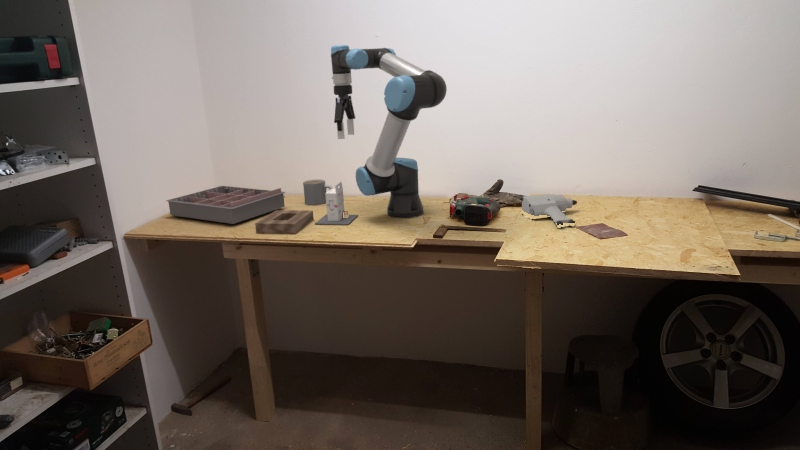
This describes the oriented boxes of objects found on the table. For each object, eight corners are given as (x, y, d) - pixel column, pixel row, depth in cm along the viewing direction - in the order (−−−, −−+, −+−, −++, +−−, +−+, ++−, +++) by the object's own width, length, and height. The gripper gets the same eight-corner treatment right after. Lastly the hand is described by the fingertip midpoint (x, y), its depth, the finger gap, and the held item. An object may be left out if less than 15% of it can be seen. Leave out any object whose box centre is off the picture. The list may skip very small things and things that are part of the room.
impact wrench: (607, 217, 216) (572, 188, 237) (551, 224, 210) (520, 194, 231) (603, 236, 220) (568, 206, 241) (548, 243, 214) (518, 212, 235)
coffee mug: (301, 204, 268) (298, 183, 265) (312, 199, 277) (310, 179, 274) (326, 206, 263) (325, 184, 260) (337, 201, 272) (335, 179, 269)
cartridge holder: (313, 220, 241) (312, 210, 240) (295, 234, 222) (294, 223, 221) (277, 219, 244) (276, 210, 243) (256, 233, 225) (255, 223, 224)
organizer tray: (224, 201, 282) (221, 181, 279) (287, 209, 262) (285, 187, 259) (168, 218, 255) (164, 196, 253) (233, 228, 235) (230, 203, 233)
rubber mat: (358, 216, 244) (358, 214, 244) (348, 225, 231) (348, 223, 230) (326, 215, 247) (326, 214, 247) (314, 224, 234) (314, 223, 233)
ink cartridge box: (333, 216, 243) (331, 181, 239) (345, 216, 242) (342, 181, 238) (327, 221, 235) (324, 185, 231) (338, 221, 234) (336, 185, 230)
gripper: (343, 83, 253) (346, 133, 258) (323, 86, 229) (327, 140, 235) (359, 82, 251) (363, 132, 257) (341, 85, 228) (345, 140, 233)
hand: (346, 136), depth 246 cm, fingers open, 13 cm apart
